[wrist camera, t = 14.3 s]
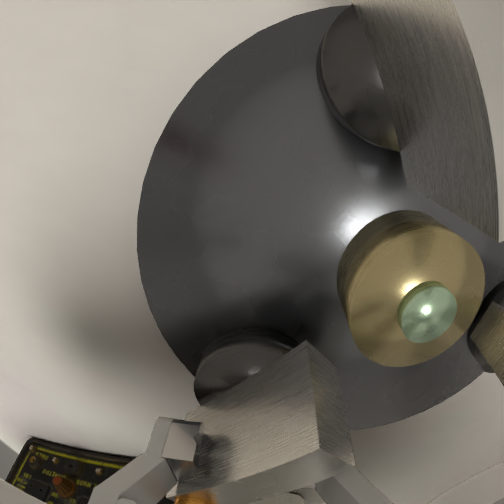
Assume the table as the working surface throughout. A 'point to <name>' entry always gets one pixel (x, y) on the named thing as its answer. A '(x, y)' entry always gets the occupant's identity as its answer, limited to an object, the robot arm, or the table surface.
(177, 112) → the plate
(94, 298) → the table surface
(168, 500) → the voltmeter
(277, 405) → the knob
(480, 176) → the grey lever knob
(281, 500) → the paper towel roll
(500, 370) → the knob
